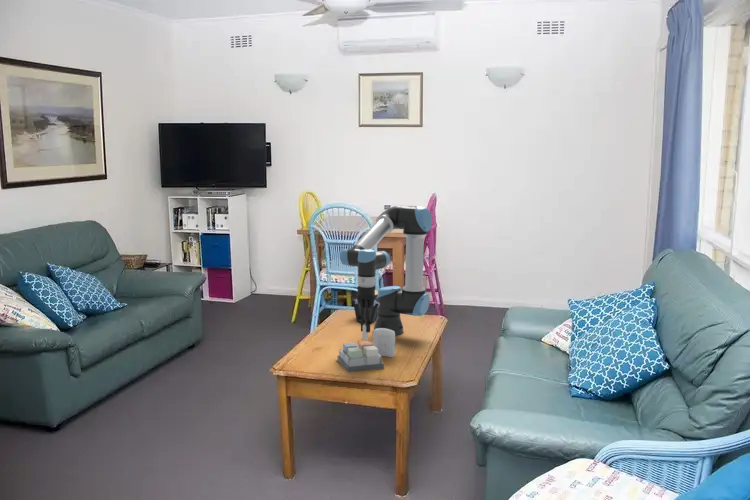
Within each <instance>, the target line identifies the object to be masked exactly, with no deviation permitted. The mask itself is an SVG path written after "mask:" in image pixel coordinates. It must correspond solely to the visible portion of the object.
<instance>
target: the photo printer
mask: <svg viewBox="0 0 750 500" xmlns="http://www.w3.org/2000/svg"><path fill="white" fill-rule="evenodd" d="M372 334H373V335H372V344H373V346H375V347H376V348H377V349H378V353H379V354H380V355H381V356H382V357H389V358H393V357H395V356H396V355H395V352H396V335H395V332H394V331H393V330H390V329H387V328H377V329H375V330H374V329H373V333H372Z"/></svg>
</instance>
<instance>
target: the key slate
mask: <svg viewBox="0 0 750 500" xmlns="http://www.w3.org/2000/svg"><path fill="white" fill-rule="evenodd" d="M355 347H358V345H357V343H355V342H346V343H345V342H344V343H343V344H342V349H343V351H344V353H345V354H348V348H355Z"/></svg>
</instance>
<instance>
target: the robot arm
mask: <svg viewBox="0 0 750 500" xmlns="http://www.w3.org/2000/svg"><path fill="white" fill-rule="evenodd" d="M432 217H433V216H432V213H431V211H430V210H429V209H428V208H427V207H424V206H421V205H420V206H419V205H400V204H399V205H395V206H392V207H390V208H387V209H386V210H384V211H383V212H382V213H380V214H379V215H378V216H377V218H376V219H375V223H373V225H372V226H371V227H369V229H367V231H366V232H364V234H363V235H362V236H361V237H360V239H358V241H356V242H355V244H354V245H353V246H352V247H351V248H344V249H342V250H341V252H340V255H339V260H340V263H341V264H342V265H344V266H348V267H355V268H356V267H357V291H356V293H357V296H356V298H355V299H352V300H351V303H352V306H353V309H354V313H355V314H354V315H355V319H356V323H358V324H360V332H362V334H361V335H362V337H361V338H362V341H366V340H367V341H368V339H369V333H370V332H371V325H373V324H374V325H373V331H374V330H375V329H377V328H387V329H390V330H393V331H394V332H395V336H397V335H401V334H403V333H404V325H403V322H402V319H401V315H409V316H412V317H422V316H424V315H425V314H427V311H428V309H429V306H430V302H431V297H430V295H429V293H427V292H426V287H425V286H424V285H423V282H424V247H425V246H424V243H425V242H424V241H425V237H427V234H428V232H429V231H430V230H431V229H432V225H433V218H432ZM393 230H403V231H402V232H403V233H402V234H403V235H404V236H405V238H406V239H405V274H404V275H405V277H404V278H405V279H404V280H405V284H404V285H403V287H401V286H398V285H390V286H383V287H381V288H379V289H378V290H377V291H378V297H377V298H378V302H377V301H376V299H375V290H376V270H381V269H384V268H386V267H388V266H390V262H391V258H390V257H391V256H390V255H389V253H388V252H387V251H386V250H378V251H375V249H374V248H375V247H376V246H377V245H378V244H379V243H380V242H381V241H382V239H383V238H384V237H385V236H386V235H387V234H388V233H391V232H392V231H393ZM358 302H359V304H360V308H359V304H358ZM373 303H374V308H373V311H372V315H371V308H372V305H373ZM360 309H361V313H360ZM376 314H377V319H376V320H375V318H376Z"/></svg>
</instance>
